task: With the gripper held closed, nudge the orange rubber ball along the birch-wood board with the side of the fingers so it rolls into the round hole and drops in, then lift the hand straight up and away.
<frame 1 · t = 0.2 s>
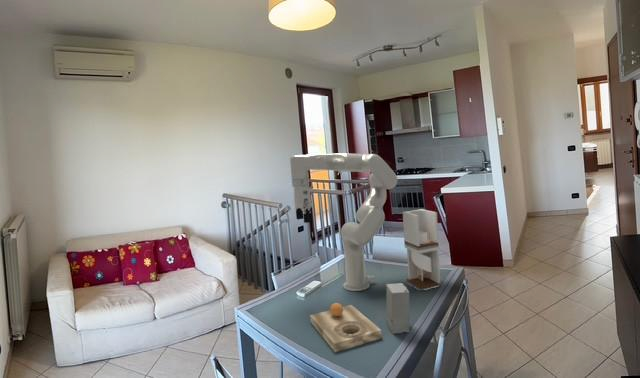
hand: (303, 220, 163), 36 cm above the table, tool pointing down, fingers open, 9 cm apart
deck: (344, 329, 136), on the table
display case: (423, 285, 171), on the table
skincare box: (398, 328, 134), on the table
ball: (336, 309, 141), point 5 cm above the table, touching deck
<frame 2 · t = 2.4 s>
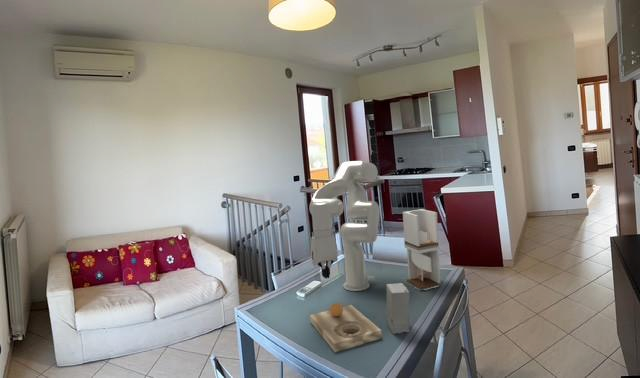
hand: (326, 277, 147), 16 cm above the table, tool pointing down, fingers closed
nothing on the table moved.
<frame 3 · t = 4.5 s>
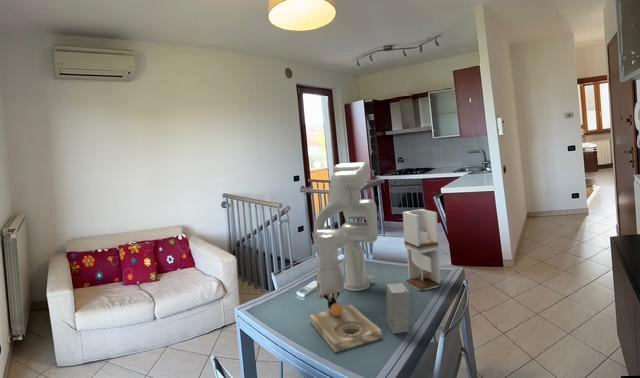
hand: (332, 309, 145), 4 cm above the table, tool pointing down, fingers closed
ball: (336, 309, 141), point 5 cm above the table, touching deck, gripper
everything else where it was.
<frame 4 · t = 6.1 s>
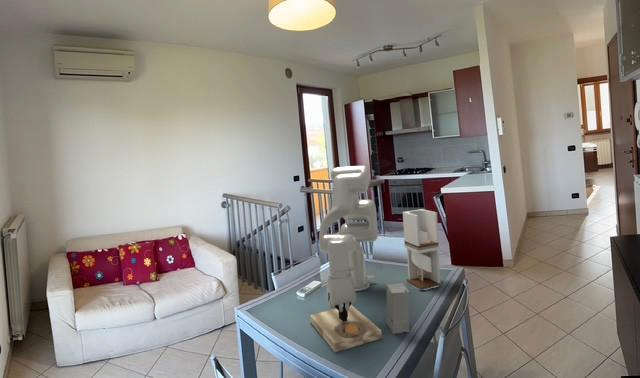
hand: (343, 320, 135), 4 cm above the table, tool pointing down, fingers closed
ball: (352, 331, 129), point 2 cm above the table, tilted 45°
everything else where it was.
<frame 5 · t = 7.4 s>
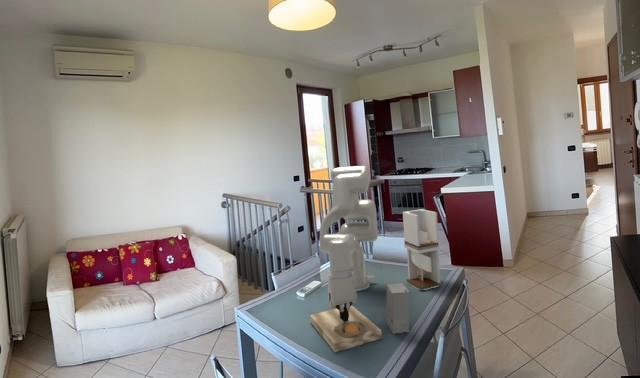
hand: (344, 320, 135), 4 cm above the table, tool pointing down, fingers closed
nothing on the table moved.
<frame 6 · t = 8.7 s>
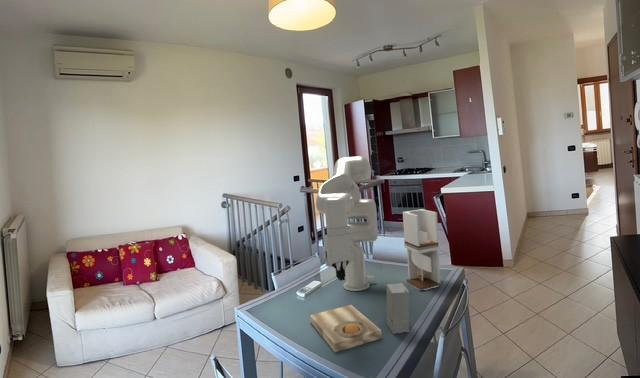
hand: (341, 279, 134), 19 cm above the table, tool pointing down, fingers closed
nothing on the table moved.
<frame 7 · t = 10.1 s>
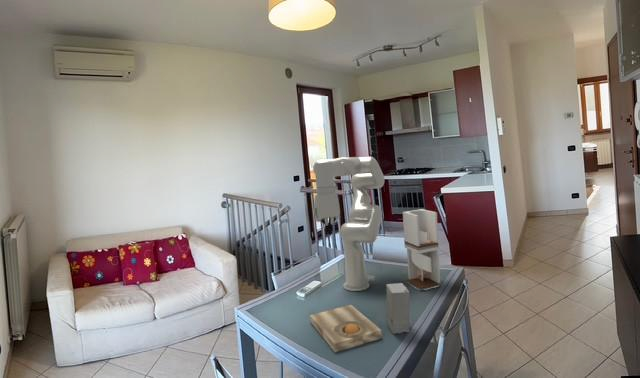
hand: (329, 233, 153), 32 cm above the table, tool pointing down, fingers closed
nothing on the table moved.
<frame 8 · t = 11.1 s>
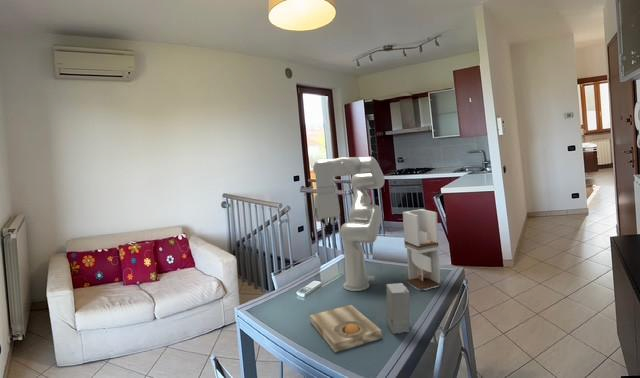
hand: (329, 233, 153), 32 cm above the table, tool pointing down, fingers closed
nothing on the table moved.
at the end: ball 0.6 cm from the target spot on the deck, point 2.5 cm above the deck's base; skincare box moved 0.2 cm from its start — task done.
